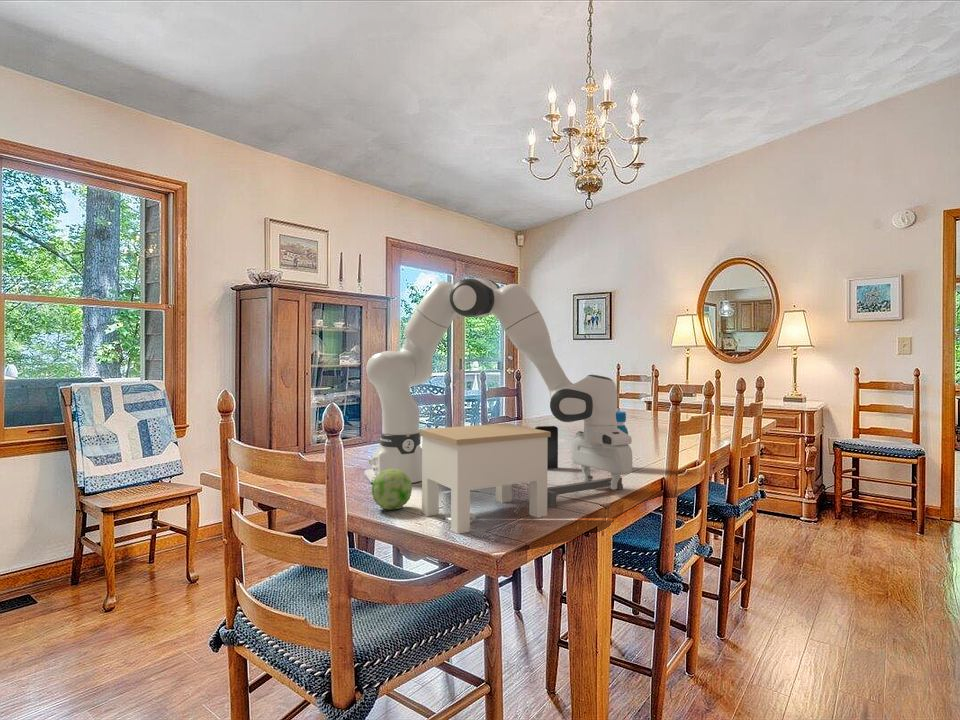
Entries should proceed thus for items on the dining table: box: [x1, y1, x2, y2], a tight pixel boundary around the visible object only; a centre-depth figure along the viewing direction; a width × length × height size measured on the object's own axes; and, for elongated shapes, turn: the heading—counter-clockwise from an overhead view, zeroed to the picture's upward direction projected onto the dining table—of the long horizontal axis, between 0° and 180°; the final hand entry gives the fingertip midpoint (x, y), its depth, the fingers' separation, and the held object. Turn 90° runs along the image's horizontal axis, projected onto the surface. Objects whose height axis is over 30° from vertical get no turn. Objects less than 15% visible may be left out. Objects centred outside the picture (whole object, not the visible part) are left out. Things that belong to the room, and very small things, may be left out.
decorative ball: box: [371, 469, 413, 511], centre depth 137 cm, size 10×10×10 cm
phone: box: [534, 425, 559, 470], centre depth 182 cm, size 8×1×15 cm, turn 103°
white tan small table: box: [419, 422, 551, 535], centre depth 132 cm, size 19×25×20 cm
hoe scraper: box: [547, 476, 624, 509], centre depth 148 cm, size 28×9×4 cm, turn 121°
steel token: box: [444, 512, 476, 525], centre depth 129 cm, size 7×7×1 cm
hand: (600, 485), depth 151 cm, fingers open, 8 cm apart
